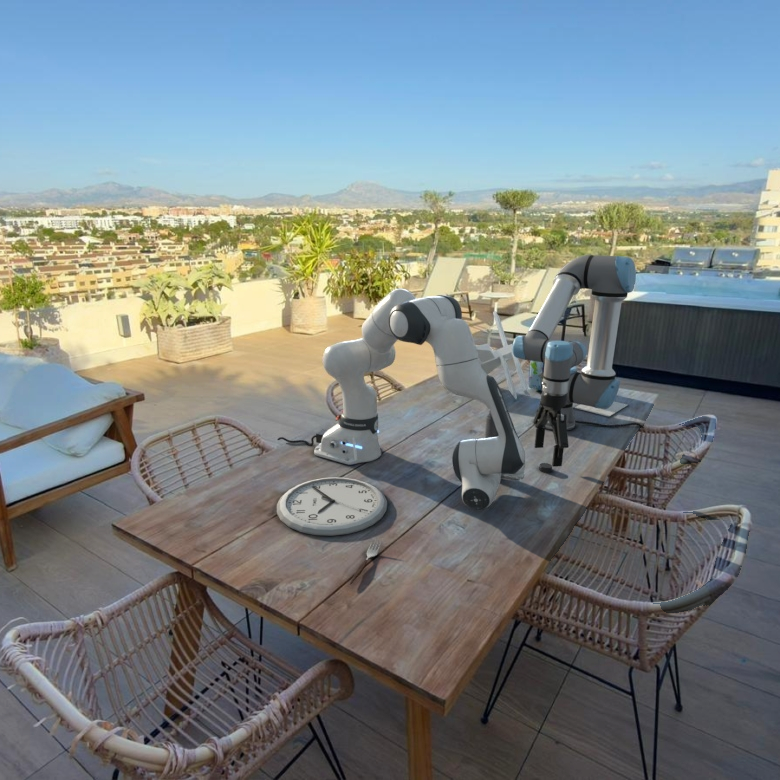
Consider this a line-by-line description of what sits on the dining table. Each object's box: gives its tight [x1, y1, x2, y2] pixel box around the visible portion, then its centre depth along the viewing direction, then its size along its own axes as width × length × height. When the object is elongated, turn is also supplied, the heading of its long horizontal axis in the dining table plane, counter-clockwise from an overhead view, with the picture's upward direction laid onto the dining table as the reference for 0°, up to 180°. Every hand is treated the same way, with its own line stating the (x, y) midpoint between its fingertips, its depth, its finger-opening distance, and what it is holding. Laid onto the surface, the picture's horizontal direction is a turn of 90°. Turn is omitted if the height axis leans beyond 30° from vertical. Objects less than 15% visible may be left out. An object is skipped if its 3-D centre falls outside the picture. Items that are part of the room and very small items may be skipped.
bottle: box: [484, 410, 499, 438], centre depth 158 cm, size 6×6×25 cm
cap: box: [538, 462, 553, 474], centre depth 166 cm, size 4×4×2 cm
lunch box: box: [528, 360, 545, 392], centre depth 249 cm, size 26×11×21 cm, turn 134°
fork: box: [349, 538, 383, 585], centre depth 117 cm, size 3×16×2 cm, turn 160°
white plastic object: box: [476, 310, 531, 400], centre depth 245 cm, size 37×45×31 cm
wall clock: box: [276, 476, 388, 537], centre depth 142 cm, size 30×2×30 cm
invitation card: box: [573, 401, 629, 418], centre depth 226 cm, size 21×1×15 cm
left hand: (493, 455), depth 161 cm, fingers closed on bottle, 5 cm apart
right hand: (547, 456), depth 165 cm, fingers open, 13 cm apart
